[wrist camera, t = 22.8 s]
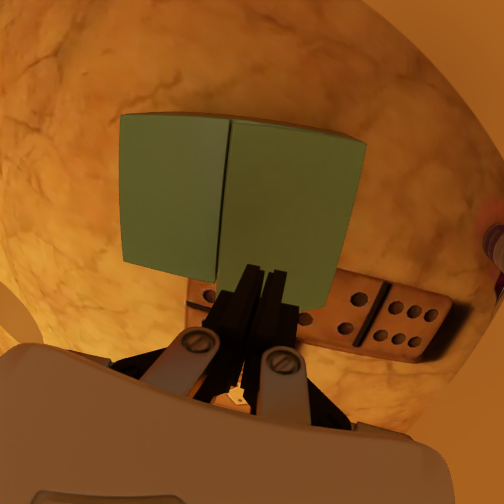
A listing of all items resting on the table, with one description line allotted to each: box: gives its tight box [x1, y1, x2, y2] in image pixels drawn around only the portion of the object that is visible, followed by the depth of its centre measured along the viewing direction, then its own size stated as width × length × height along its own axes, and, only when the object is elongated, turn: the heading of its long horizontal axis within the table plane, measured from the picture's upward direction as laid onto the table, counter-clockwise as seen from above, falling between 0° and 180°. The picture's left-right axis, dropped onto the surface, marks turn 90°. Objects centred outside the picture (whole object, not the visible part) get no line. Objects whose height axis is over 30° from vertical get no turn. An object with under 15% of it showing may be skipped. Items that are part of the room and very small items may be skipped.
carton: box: [119, 112, 364, 284], centre depth 26 cm, size 18×13×11 cm
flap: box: [215, 123, 367, 311], centre depth 19 cm, size 9×13×1 cm
